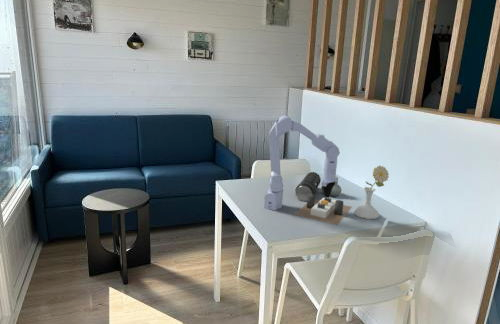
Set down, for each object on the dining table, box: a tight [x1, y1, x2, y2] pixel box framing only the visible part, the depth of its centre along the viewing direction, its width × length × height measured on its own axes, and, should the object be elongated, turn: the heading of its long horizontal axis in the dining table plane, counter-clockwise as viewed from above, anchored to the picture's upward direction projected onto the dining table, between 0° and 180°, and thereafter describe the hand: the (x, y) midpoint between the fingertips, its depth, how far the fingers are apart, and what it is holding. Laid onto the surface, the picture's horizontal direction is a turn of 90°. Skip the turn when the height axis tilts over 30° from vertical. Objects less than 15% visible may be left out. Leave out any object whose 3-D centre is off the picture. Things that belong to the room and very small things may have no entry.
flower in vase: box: [353, 165, 390, 220], centre depth 165 cm, size 13×11×25 cm
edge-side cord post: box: [334, 199, 344, 215], centre depth 167 cm, size 4×4×6 cm
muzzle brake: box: [294, 171, 322, 202], centre depth 195 cm, size 10×28×10 cm
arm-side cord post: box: [306, 194, 316, 209], centre depth 173 cm, size 4×4×6 cm
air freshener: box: [320, 175, 342, 197], centre depth 196 cm, size 11×8×10 cm
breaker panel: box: [293, 196, 352, 226], centre depth 171 cm, size 26×20×6 cm
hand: (327, 196), depth 172 cm, fingers closed
